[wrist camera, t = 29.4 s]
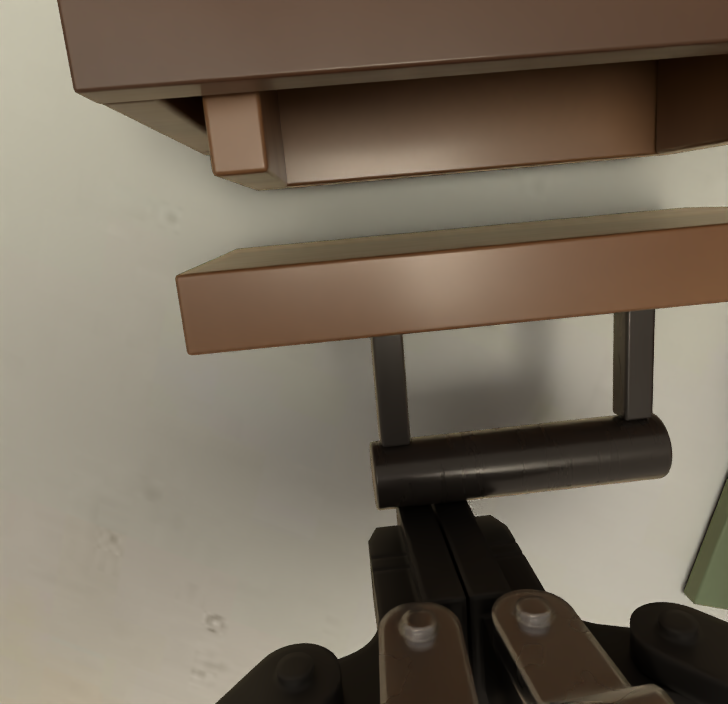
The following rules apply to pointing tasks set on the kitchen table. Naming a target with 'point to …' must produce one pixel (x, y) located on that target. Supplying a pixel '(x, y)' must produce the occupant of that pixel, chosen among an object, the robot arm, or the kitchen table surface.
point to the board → (712, 561)
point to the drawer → (473, 252)
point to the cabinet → (351, 45)
